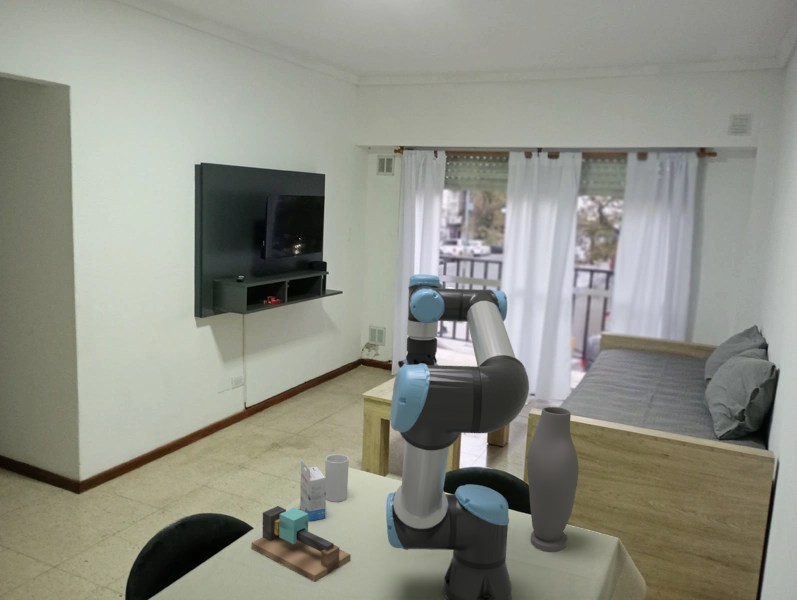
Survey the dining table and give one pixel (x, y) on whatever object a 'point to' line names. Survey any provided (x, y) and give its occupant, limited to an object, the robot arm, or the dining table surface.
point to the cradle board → (299, 549)
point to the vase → (551, 479)
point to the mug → (336, 477)
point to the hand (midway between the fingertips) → (418, 428)
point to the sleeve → (292, 524)
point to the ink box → (312, 492)
